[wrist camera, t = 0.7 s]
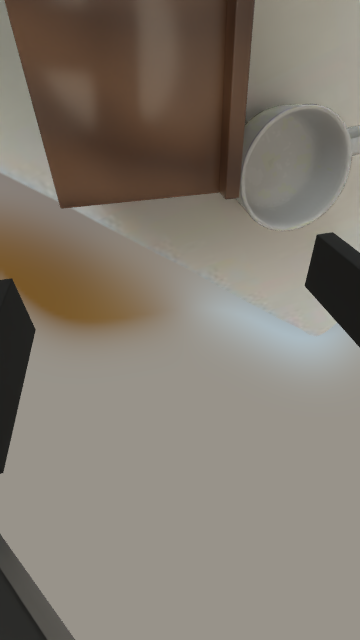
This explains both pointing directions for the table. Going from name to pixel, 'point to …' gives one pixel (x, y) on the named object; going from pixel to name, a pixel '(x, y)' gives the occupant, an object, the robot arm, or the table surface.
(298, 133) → the teacup
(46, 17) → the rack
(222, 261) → the table surface
